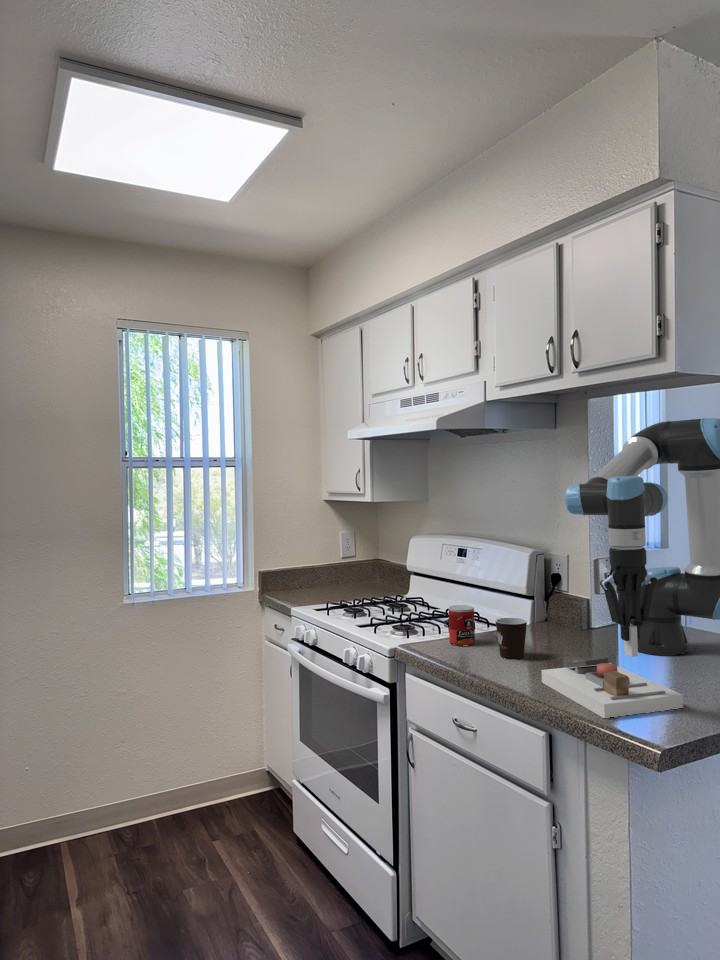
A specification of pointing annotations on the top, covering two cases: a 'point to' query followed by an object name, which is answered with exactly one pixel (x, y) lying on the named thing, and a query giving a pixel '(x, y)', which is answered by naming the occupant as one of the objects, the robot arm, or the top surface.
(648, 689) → the panel
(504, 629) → the coffee mug
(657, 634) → the robot arm
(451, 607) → the canned food
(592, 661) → the tall dark grey panel
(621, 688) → the slider knob
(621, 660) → the top surface
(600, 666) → the red button
